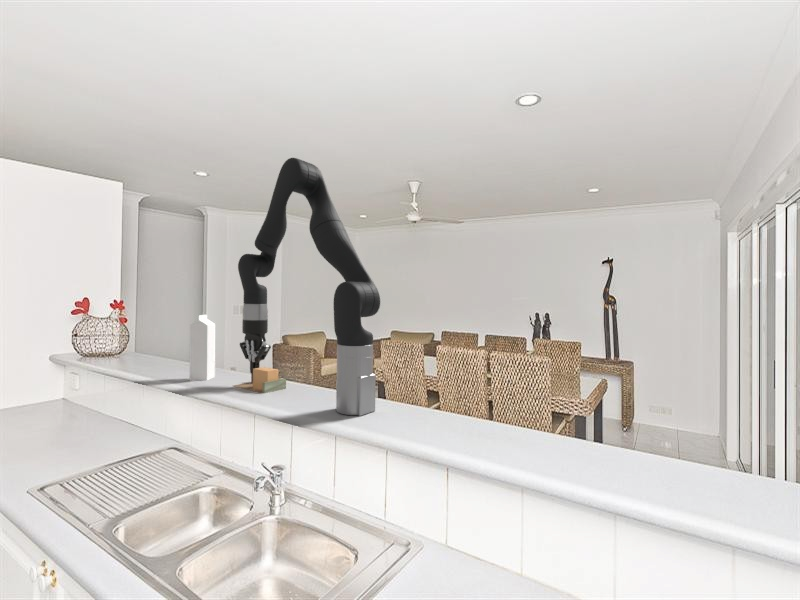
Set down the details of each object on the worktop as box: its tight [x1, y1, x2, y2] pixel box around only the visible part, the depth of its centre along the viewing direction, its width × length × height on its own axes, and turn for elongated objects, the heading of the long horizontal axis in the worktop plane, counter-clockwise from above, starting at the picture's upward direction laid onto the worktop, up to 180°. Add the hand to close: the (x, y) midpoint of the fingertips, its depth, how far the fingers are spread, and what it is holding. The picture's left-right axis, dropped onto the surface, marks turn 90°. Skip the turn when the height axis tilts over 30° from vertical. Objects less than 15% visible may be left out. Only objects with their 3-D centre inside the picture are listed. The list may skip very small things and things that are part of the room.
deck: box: [233, 373, 287, 394], centre depth 139 cm, size 16×8×4 cm, turn 55°
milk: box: [189, 314, 216, 382], centre depth 151 cm, size 6×6×22 cm
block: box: [253, 366, 280, 390], centre depth 137 cm, size 7×4×6 cm, turn 55°
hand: (254, 373), depth 140 cm, fingers closed
